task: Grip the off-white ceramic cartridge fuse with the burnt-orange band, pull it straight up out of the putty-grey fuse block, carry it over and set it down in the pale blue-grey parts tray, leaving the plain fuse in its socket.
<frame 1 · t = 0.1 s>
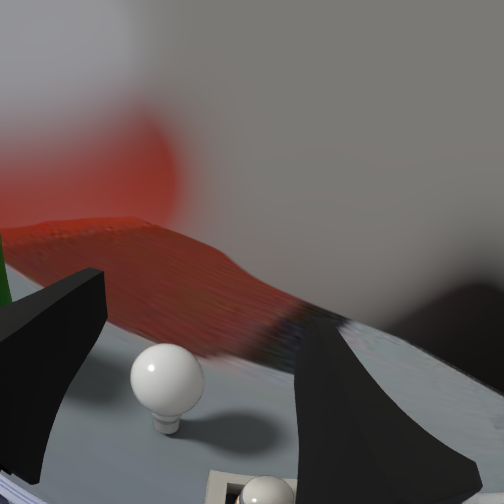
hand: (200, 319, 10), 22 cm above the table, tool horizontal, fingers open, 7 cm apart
lightbulb: (166, 427, 26), on the table
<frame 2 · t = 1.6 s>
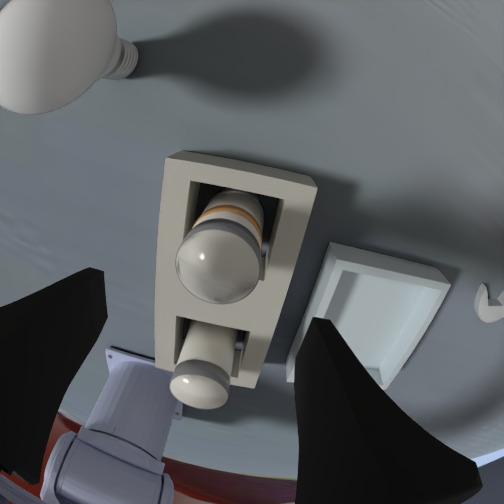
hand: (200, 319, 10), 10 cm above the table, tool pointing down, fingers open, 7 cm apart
fuse block: (223, 275, 21), on the table
blown fuse: (235, 215, 19), resting in fuse block
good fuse: (215, 323, 23), resting in fuse block
parts tray: (360, 318, 22), on the table
lightbulb: (125, 61, 15), on the table
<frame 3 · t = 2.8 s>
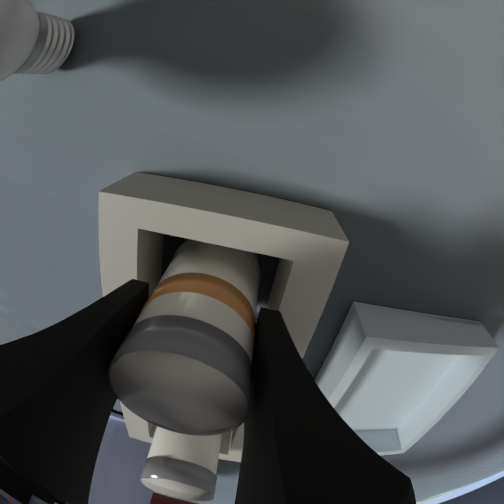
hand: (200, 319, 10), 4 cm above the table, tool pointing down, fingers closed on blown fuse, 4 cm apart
fuse block: (205, 341, 15), on the table
blown fuse: (217, 266, 13), resting in fuse block, touching gripper
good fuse: (199, 390, 17), resting in fuse block
parts tray: (383, 383, 16), on the table
lightbulb: (62, 47, 9), on the table
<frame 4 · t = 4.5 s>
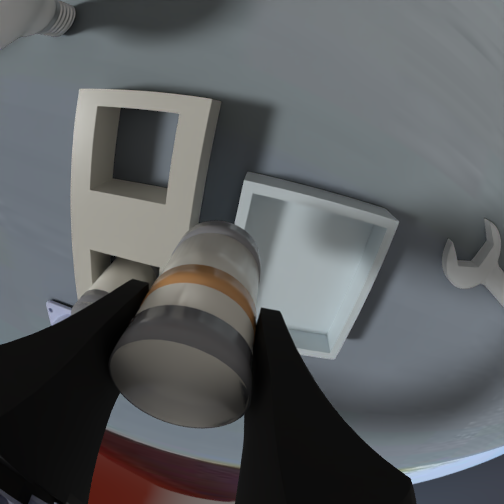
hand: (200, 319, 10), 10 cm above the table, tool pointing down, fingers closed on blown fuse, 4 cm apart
fuse block: (142, 212, 19), on the table
blown fuse: (218, 260, 13), point 7 cm above the table, touching gripper
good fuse: (139, 268, 21), resting in fuse block
parts tray: (296, 267, 20), on the table
lightbulb: (67, 22, 13), on the table
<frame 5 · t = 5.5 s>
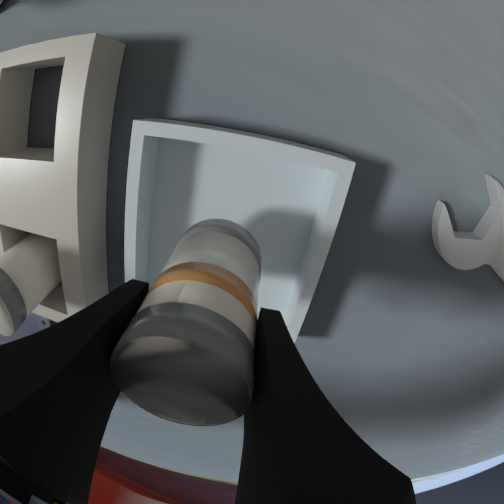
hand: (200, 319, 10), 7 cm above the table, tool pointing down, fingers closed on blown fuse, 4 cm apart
fuse block: (53, 181, 15), on the table
blown fuse: (218, 258, 13), point 3 cm above the table, touching gripper
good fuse: (57, 247, 17), resting in fuse block
parts tray: (226, 239, 16), on the table
lightbulb: (2, 1, 8), on the table
when the fingers open (5 cm above the table, at t = 6.2 s): blown fuse stays where it is, resting on parts tray.
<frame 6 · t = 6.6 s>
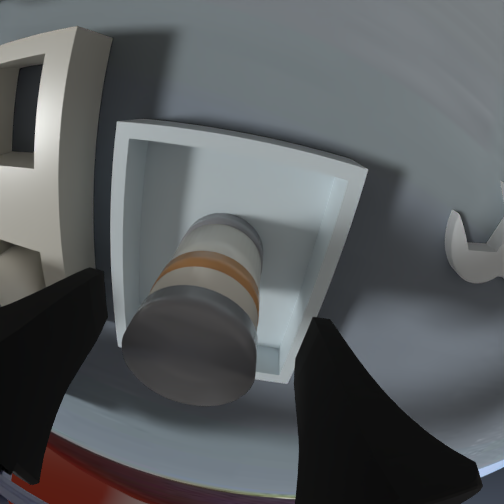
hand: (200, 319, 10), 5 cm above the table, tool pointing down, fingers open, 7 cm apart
fuse block: (38, 187, 13), on the table
blown fuse: (222, 251, 14), resting on parts tray
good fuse: (45, 257, 15), resting in fuse block
parts tray: (222, 251, 14), on the table
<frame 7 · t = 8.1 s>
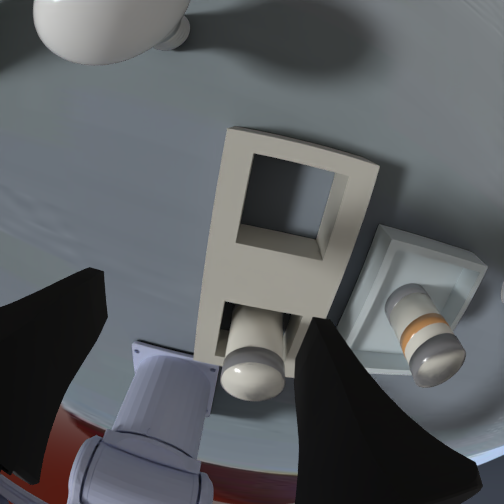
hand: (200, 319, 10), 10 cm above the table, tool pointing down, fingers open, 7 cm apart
fuse block: (271, 258, 20), on the table
blown fuse: (406, 303, 21), resting on parts tray
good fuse: (258, 310, 22), resting in fuse block
parts tray: (402, 302, 21), on the table
lightbulb: (172, 34, 14), on the table
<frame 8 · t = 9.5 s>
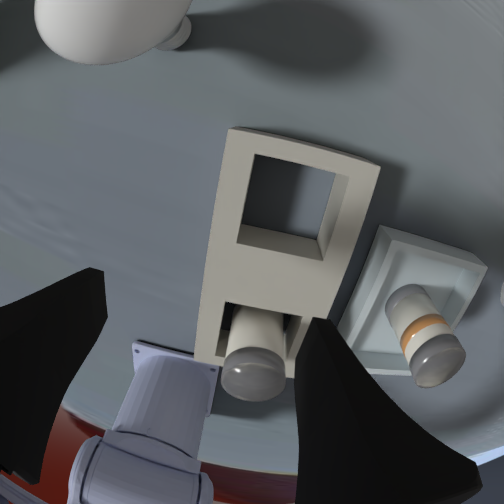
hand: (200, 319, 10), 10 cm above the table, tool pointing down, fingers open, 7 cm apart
fuse block: (272, 258, 20), on the table
blown fuse: (406, 304, 21), resting on parts tray
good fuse: (258, 311, 22), resting in fuse block
parts tray: (402, 303, 21), on the table
lightbulb: (173, 34, 14), on the table
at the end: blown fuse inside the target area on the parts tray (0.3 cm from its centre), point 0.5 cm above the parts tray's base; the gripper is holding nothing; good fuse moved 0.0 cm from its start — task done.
